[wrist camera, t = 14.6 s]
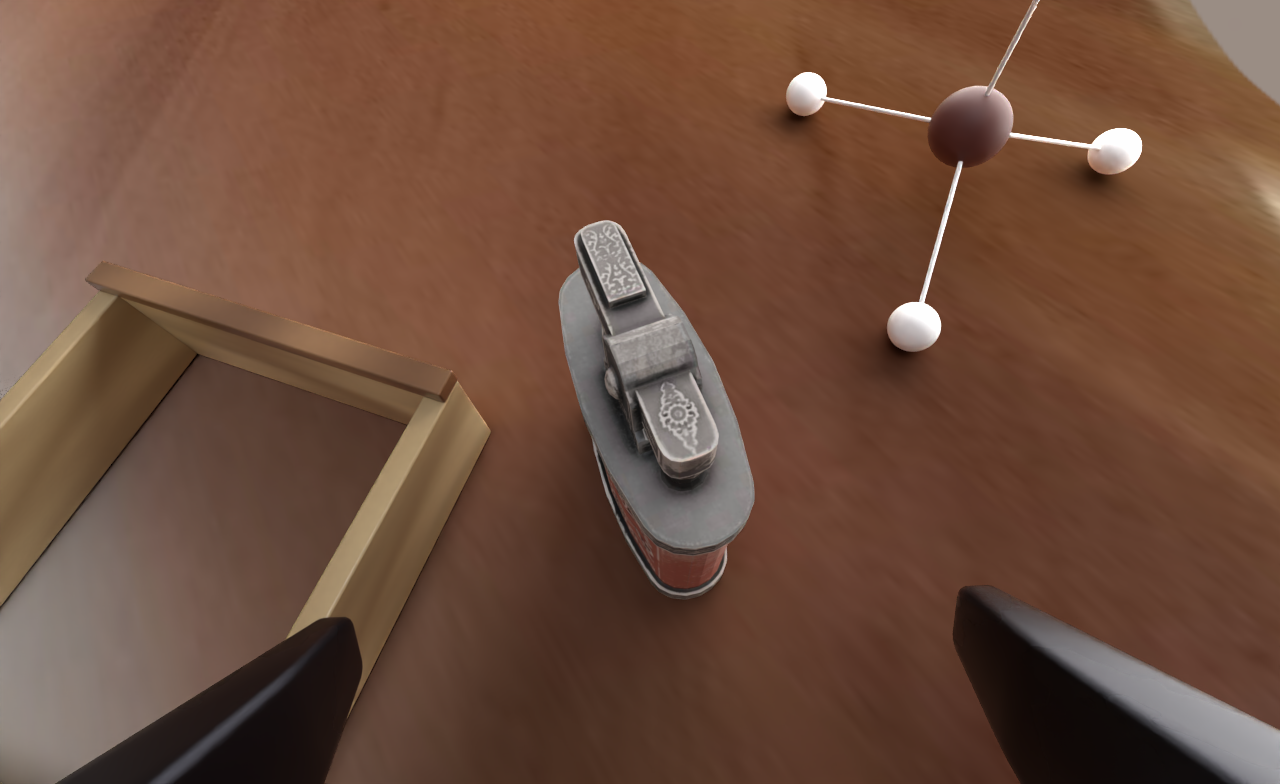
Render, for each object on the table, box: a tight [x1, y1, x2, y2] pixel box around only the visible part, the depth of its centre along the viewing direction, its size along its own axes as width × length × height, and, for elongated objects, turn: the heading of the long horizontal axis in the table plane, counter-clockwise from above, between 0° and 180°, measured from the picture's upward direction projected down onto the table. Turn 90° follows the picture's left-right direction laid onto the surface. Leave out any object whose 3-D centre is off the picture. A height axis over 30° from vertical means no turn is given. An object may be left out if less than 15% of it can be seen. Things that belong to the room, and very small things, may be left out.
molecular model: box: [786, 0, 1142, 352], centre depth 21 cm, size 13×15×13 cm
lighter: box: [559, 220, 755, 599], centre depth 17 cm, size 8×3×10 cm, turn 21°
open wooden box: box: [0, 261, 491, 784], centre depth 18 cm, size 14×16×5 cm
